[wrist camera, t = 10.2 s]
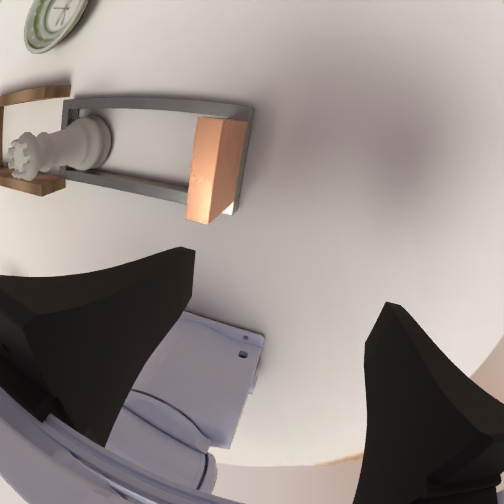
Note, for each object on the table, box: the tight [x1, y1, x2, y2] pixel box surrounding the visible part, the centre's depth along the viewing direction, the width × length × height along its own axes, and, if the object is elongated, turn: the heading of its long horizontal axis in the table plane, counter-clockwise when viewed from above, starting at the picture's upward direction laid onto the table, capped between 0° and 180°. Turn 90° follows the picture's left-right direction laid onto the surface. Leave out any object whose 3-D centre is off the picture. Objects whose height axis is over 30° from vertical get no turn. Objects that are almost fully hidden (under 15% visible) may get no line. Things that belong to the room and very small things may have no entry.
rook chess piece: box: [8, 116, 111, 181], centre depth 16 cm, size 4×4×8 cm
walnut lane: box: [0, 86, 71, 197], centre depth 20 cm, size 14×9×3 cm, turn 80°
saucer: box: [24, 0, 88, 54], centre depth 14 cm, size 10×10×2 cm
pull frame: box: [60, 97, 255, 224], centre depth 16 cm, size 16×7×6 cm, turn 80°
